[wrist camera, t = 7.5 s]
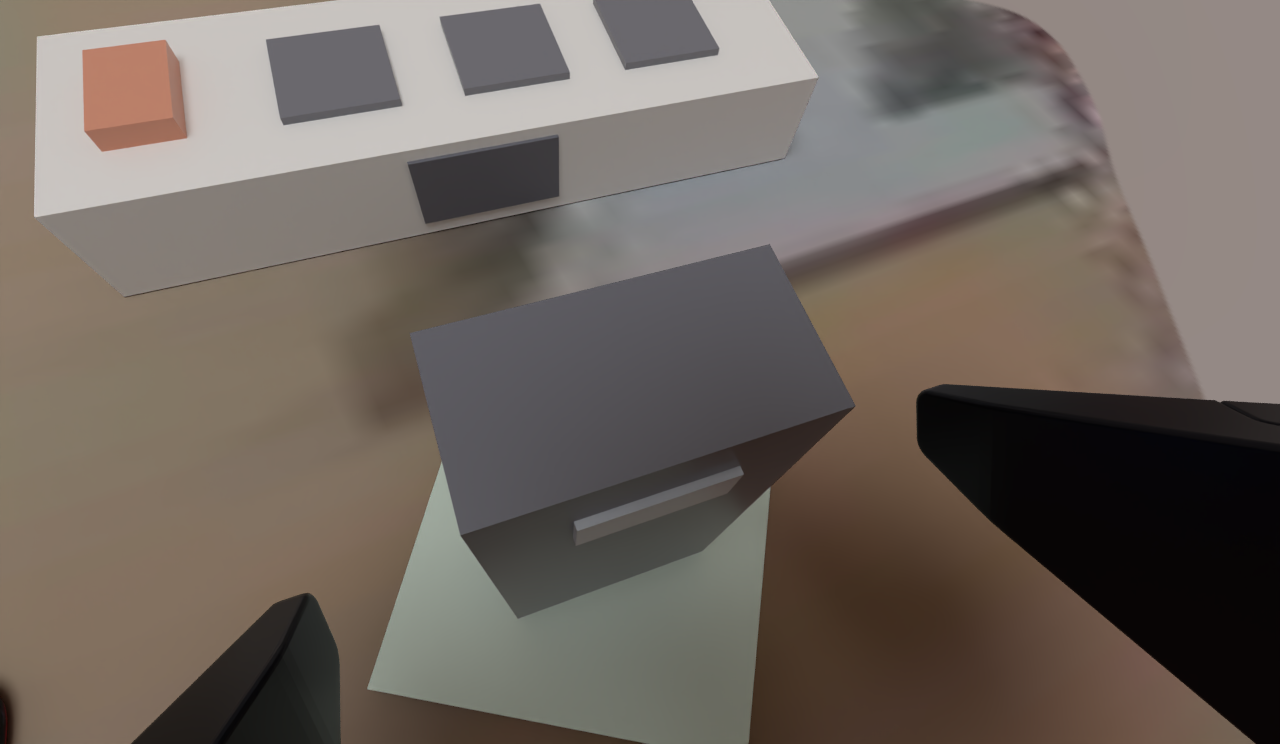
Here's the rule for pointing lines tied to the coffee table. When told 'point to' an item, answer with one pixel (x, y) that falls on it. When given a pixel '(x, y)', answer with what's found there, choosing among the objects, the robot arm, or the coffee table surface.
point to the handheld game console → (3, 723)
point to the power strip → (389, 122)
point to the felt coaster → (585, 640)
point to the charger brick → (623, 420)
